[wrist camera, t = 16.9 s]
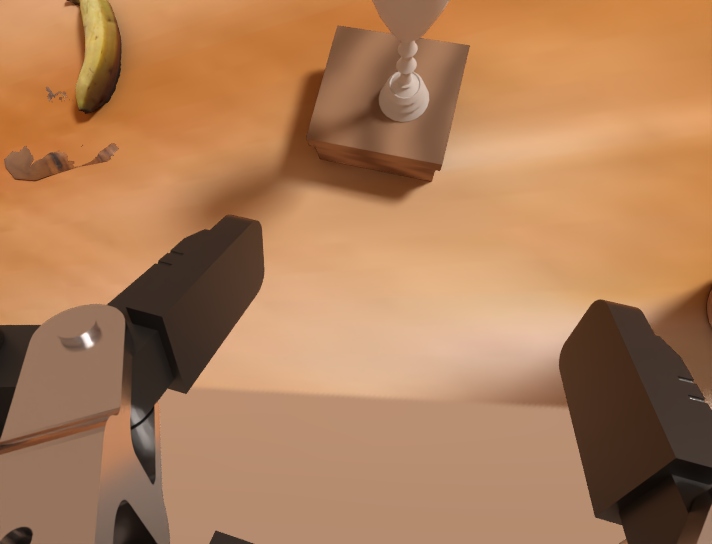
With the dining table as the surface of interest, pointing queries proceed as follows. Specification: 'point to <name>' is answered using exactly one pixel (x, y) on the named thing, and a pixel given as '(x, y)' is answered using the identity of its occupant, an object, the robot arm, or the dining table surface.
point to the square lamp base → (362, 110)
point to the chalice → (406, 55)
